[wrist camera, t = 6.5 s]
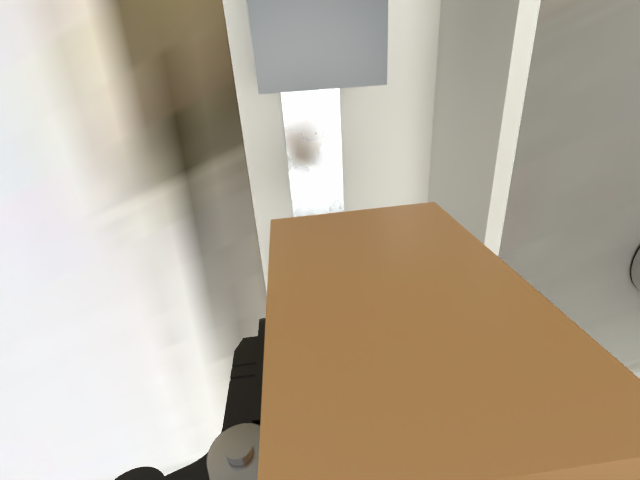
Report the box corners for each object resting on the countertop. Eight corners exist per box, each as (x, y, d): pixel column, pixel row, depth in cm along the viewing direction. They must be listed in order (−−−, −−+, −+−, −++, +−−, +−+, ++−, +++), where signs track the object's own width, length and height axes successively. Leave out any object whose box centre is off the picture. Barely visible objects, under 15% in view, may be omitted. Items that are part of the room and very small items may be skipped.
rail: (331, -77, 22) (333, -80, 21) (346, 302, 33) (347, 305, 33) (264, -73, 21) (263, -77, 21) (302, 307, 33) (302, 310, 32)
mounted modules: (351, -39, 22) (389, -95, 14) (358, 304, 33) (382, 376, 25) (248, -33, 22) (231, -88, 14) (289, 312, 32) (293, 388, 25)
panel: (456, -87, 23) (571, -187, 14) (427, 291, 35) (479, 368, 26) (213, -76, 22) (167, -176, 13) (270, 308, 34) (266, 395, 25)
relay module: (434, 201, 11) (731, 457, 4) (423, 371, 14) (578, 696, 7) (270, 219, 11) (253, 534, 4) (295, 389, 14) (314, 749, 7)
